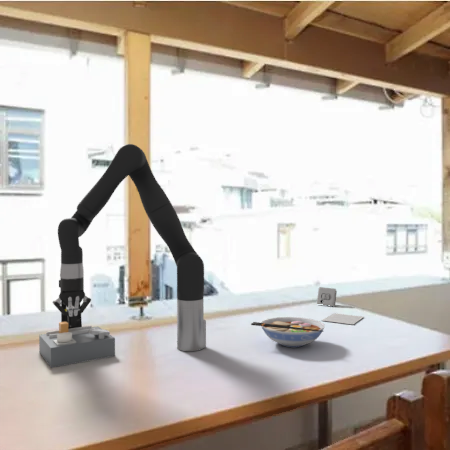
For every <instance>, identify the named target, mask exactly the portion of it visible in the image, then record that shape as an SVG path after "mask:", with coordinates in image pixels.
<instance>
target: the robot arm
mask: <svg viewBox="0 0 450 450" xmlns="http://www.w3.org/2000/svg"><path fill="white" fill-rule="evenodd" d="M114 155H115V156H114V157H113V159H112V160H111V162H110V163H109V165H108V167H107V169H105V171H104V173H103V174H102V176H100V178H99V179H98V180H97V182H96V183H95V184H94V185H93V186H92V188H90V190H89V191H88V192H87V193H86V194H85V196H83V198H82V199H81V200H80V202H78V204H77V206H76V211H75V212H74V213H73V215H72V216H71V217H67V218H64V219H62V220H61V221H60V222H59V223H58V225H57V226H58V227H57V237H58V238H57V239H58V243H59V248H60V251H61V252H60V263H61V264H60V270H59V272H60V273H59V277H60V278H59V280H60V287H59V288H60V289H59V290H60V293H59V295H58V298H57V299H56V300H53V301H52V305H54V307H55V308H56V309H57V310H58V311H59V312H60V313H62V314H63V315H66V316H67V317H68V325H69V326H70V327H75V325H77V315H78V314H81V315H82V314H83V313H84V311H85V310H86V309H87V307H88V306H89V304H90V303H91V302H92V298H90V297H88V296H87V295H86V293H85V291H84V289H85V288H84V287H85V286H84V284H85V283H84V276H85V275H84V273H85V272H84V263H83V260H84V259H83V256H84V255H83V248H82V246H80V241H79V240H80V239H79V238H80V237H82V236H83V235H84V234H85V233H86V231H87V230H88V229H89V227H90V225H92V224H91V223H92V222H93V221H94V219H95V218H96V217H97V216H98V215H99V213H100V212H101V211H102V210H103V209H104V207H105V206H106V205H107V203H108V202H109V201H110V199H111V197H112V196H113V194H114V192H115V191H116V190H117V188H118V187H119V186H120V184H121V183H122V182H123V181H124V180H125V179H126V178H127V177H130V180H131V181H132V182H133V184H134V185H135V187H136V190H137V192H138V195H139V198H140V201H141V203H142V207H143V209H144V211H145V213H146V215H147V218H148V219H149V221H150V223H151V225H152V226H153V228H154V229H155V231H156V233H157V234H158V236H159V237H160V238H161V239H162V240H163V241H164V243H165V245H166V246H167V248H168V249H169V252H170V253H171V256H172V258H173V260H174V263H175V266H176V328H177V329H176V337H177V338H176V339H177V340H176V343H177V344H176V346H177V347H176V348H177V350H179V351H184V352H195V351H200V350H202V349H204V348H207V321H206V319H204V317H205V316H204V292H205V264H204V261H203V259H202V258H201V256H200V255H199V254H198V253H197V252H196V250H195V249H194V247H193V245H192V244H191V242H190V241H189V239H188V237H187V236H186V233H185V231H184V227H183V225H182V223H181V220H180V218H179V215H178V213H177V211H176V210H175V207H174V205H173V204H172V202H171V201H170V198H169V197H168V196H167V194H166V192H165V191H164V189H163V188H162V187H161V184H159V182H158V180H157V179H156V177H155V175H154V173H153V170H152V169H151V166H150V165H149V162H148V159H147V156H146V154H145V152H144V151H143V149H141V148H140V147H139V146H137V145H135V144H133V143H127V144H124V145H122V146H120V147H119V149H118V150H117V152H116V154H114ZM61 301H62V302H63V303H64V304H65V305H66V309H67V311H65V310H64V309H63V308H62V307H61ZM81 302H82V303H81ZM79 304H80V307H79V309H78V306H79Z"/></svg>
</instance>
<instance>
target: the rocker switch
mask: <svg viewBox="0 0 450 450" xmlns="http://www.w3.org/2000/svg"><path fill="white" fill-rule="evenodd" d="M88 332H89V333H90V334H91V335H99V333H100V332H104V335H106V336H109V334H110V333H111V332H110V331H109V330H108V329H104V328H101V329H89V331H88ZM110 335H111V334H110Z"/></svg>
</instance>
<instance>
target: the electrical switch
mask: <svg viewBox="0 0 450 450" xmlns="http://www.w3.org/2000/svg"><path fill="white" fill-rule="evenodd" d="M337 292H338V291H337V289H336V288H333V287H331V288H330V287H322V286H319V287H318V292H317V299H316V305H317V304H323V305H330V306H334V305H335V306H336V300H337V299H336V298H337ZM330 306H329V307H330ZM335 306H334V307H335Z"/></svg>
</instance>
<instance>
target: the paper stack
mask: <svg viewBox="0 0 450 450" xmlns="http://www.w3.org/2000/svg"><path fill="white" fill-rule="evenodd" d="M361 319H364V316H361V315H360V316H359V315H353V314H344V313H337V312H336V313H335V312H334V313H331V314H330V315H328V316H327V317H325V318H323V319H321V321H324V322H330V323H338V324H346V325H355V324H356V323H357V322H359V321H360V320H361Z"/></svg>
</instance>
